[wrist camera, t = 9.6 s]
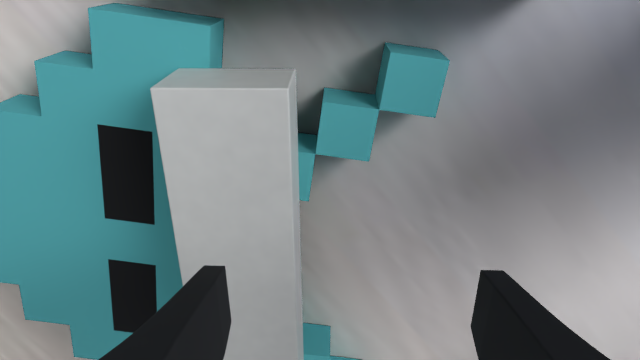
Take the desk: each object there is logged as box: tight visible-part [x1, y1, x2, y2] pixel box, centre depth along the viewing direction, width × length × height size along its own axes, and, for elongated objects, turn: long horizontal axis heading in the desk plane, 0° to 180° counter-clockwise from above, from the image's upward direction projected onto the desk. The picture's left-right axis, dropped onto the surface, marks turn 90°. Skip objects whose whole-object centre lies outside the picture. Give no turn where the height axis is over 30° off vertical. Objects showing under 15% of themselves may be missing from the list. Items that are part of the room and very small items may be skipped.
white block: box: [150, 68, 304, 360], centre depth 19 cm, size 4×15×3 cm, turn 0°
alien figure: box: [0, 3, 450, 360], centre depth 22 cm, size 20×2×20 cm
